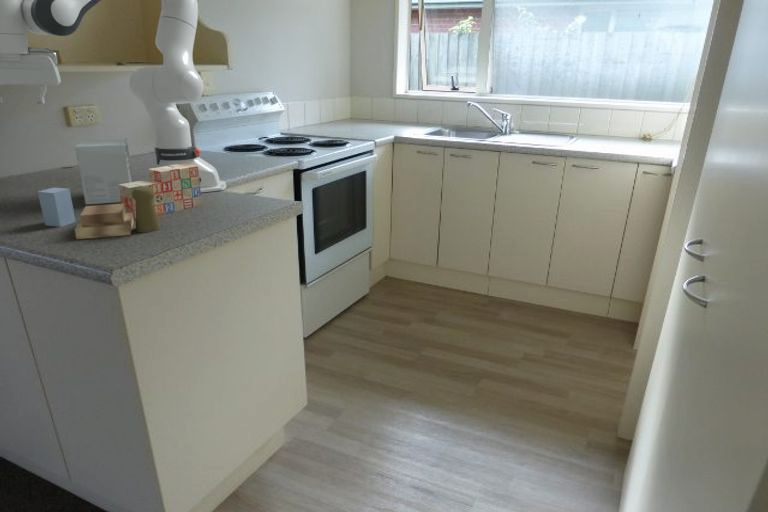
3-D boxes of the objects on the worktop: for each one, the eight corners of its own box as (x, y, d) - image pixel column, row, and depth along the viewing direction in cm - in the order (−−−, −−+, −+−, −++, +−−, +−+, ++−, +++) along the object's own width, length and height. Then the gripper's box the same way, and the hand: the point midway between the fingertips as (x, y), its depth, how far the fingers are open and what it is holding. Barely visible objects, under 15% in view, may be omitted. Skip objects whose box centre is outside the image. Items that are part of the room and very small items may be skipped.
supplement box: (135, 192, 172) (127, 138, 166) (133, 201, 161) (124, 144, 155) (90, 194, 168) (80, 139, 162) (85, 205, 156) (73, 146, 150)
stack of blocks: (134, 221, 142) (127, 176, 138) (123, 216, 146) (115, 173, 142) (202, 205, 158) (198, 165, 154) (190, 202, 162) (186, 162, 158)
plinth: (133, 221, 142) (130, 201, 140) (130, 234, 131) (127, 213, 129) (83, 225, 138) (79, 205, 136) (76, 239, 127) (72, 217, 125)
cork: (132, 228, 136) (125, 186, 132) (155, 223, 140) (149, 183, 136) (141, 233, 132) (134, 191, 128) (164, 229, 136) (159, 187, 132)
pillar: (60, 219, 142) (53, 187, 139) (75, 221, 141) (69, 188, 138) (45, 225, 137) (37, 191, 134) (60, 226, 136) (53, 193, 133)
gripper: (58, 48, 138) (67, 102, 143) (-35, 45, 132) (-22, 102, 136) (52, 47, 133) (63, 104, 138) (-45, 44, 126) (-31, 104, 131)
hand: (20, 103), depth 137 cm, fingers open, 8 cm apart
